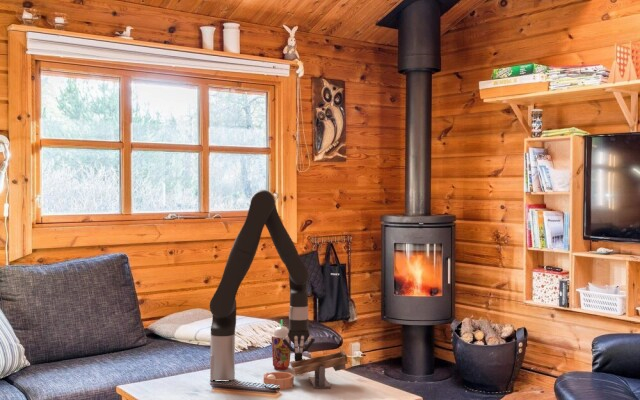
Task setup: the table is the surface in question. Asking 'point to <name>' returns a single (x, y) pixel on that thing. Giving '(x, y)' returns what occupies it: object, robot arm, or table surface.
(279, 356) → the smoothie
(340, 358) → the lever
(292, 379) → the orange bowl
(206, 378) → the table surface
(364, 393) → the table surface
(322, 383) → the stand
